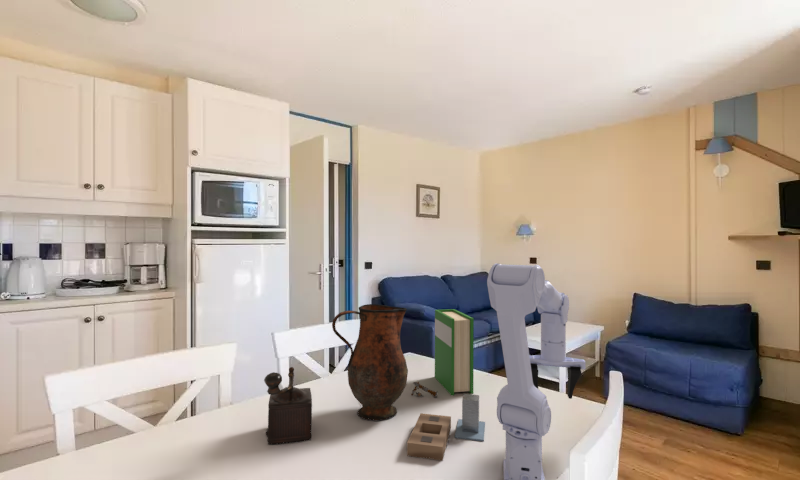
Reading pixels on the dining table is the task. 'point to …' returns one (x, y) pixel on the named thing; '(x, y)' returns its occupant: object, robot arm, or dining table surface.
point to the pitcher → (377, 361)
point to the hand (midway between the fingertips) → (553, 395)
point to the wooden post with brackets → (423, 389)
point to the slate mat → (470, 435)
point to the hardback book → (454, 350)
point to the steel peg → (470, 413)
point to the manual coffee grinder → (288, 411)
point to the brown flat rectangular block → (429, 437)
